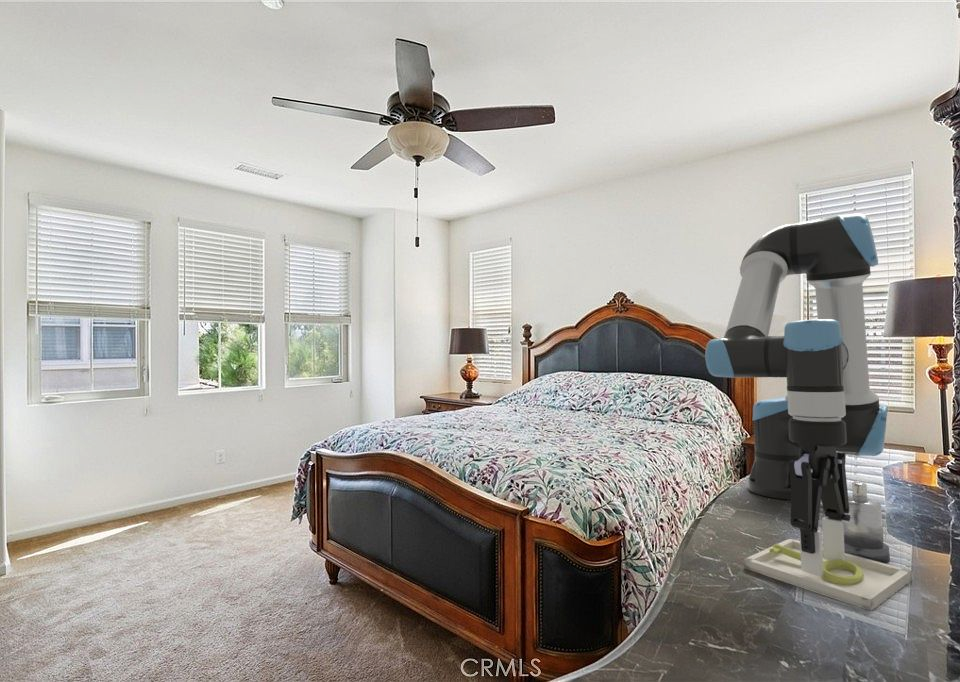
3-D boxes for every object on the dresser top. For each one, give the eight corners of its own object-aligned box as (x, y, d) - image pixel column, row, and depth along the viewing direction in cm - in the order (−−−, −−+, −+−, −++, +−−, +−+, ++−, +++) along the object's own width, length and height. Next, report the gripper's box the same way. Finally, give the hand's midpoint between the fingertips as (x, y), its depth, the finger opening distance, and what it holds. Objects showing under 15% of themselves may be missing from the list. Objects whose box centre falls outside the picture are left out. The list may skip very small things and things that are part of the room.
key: (772, 554, 85) (771, 541, 85) (863, 572, 77) (863, 558, 77) (765, 569, 79) (764, 556, 79) (863, 590, 71) (862, 575, 71)
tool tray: (790, 546, 89) (789, 538, 89) (911, 580, 75) (911, 570, 75) (744, 568, 81) (743, 559, 81) (871, 610, 67) (870, 599, 67)
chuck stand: (848, 544, 89) (844, 476, 90) (896, 556, 84) (892, 484, 84) (830, 553, 86) (826, 482, 86) (880, 567, 80) (875, 491, 80)
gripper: (818, 411, 87) (825, 545, 86) (758, 421, 76) (765, 575, 76) (870, 414, 81) (878, 559, 80) (813, 426, 70) (821, 593, 69)
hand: (823, 566), depth 78 cm, fingers closed on key, 7 cm apart
